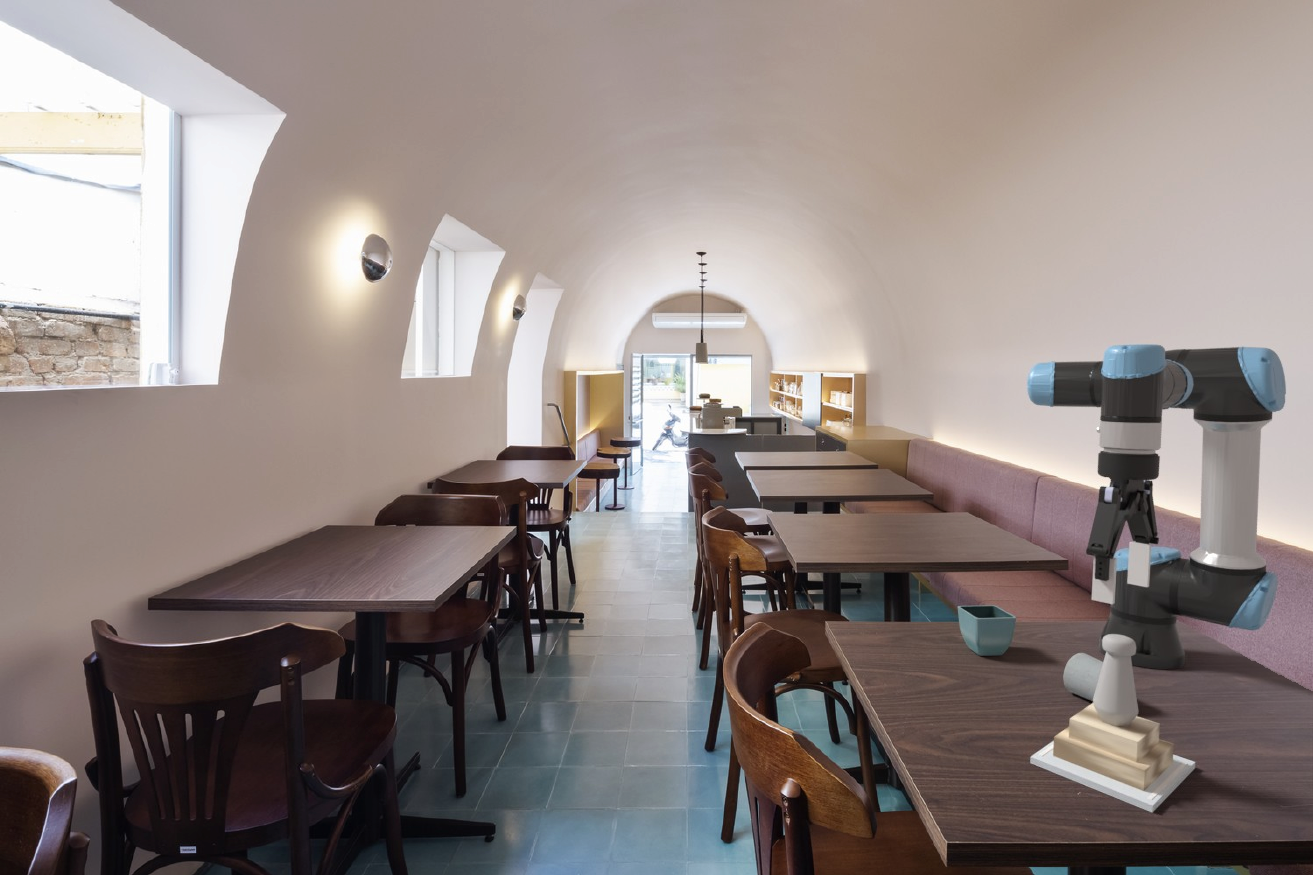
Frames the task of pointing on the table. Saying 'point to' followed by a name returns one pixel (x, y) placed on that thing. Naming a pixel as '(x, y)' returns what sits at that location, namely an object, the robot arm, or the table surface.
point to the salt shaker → (1116, 682)
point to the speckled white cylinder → (1082, 675)
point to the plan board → (1114, 788)
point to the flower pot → (986, 628)
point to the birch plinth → (1115, 762)
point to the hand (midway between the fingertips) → (1121, 593)
